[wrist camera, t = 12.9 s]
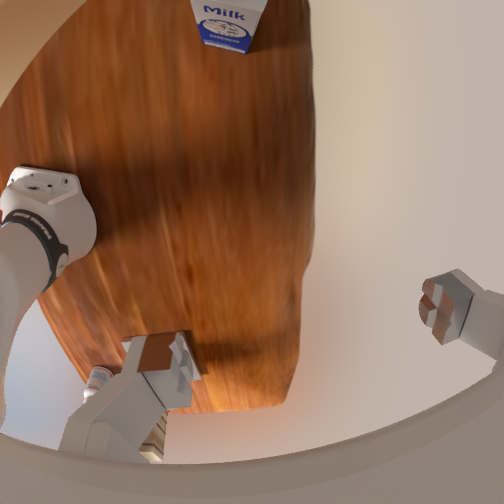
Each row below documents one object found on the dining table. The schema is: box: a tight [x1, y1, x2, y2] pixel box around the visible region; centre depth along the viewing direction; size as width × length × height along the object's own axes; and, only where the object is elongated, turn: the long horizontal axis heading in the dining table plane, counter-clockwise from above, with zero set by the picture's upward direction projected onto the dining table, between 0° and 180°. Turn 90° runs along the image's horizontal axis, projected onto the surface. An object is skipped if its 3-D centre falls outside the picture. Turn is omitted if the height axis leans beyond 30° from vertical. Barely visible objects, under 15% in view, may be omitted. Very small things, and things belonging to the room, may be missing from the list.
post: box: [137, 409, 168, 461], centre depth 43 cm, size 4×4×17 cm
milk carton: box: [190, 0, 268, 54], centre depth 24 cm, size 7×7×20 cm
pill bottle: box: [83, 366, 114, 404], centre depth 54 cm, size 6×6×11 cm
